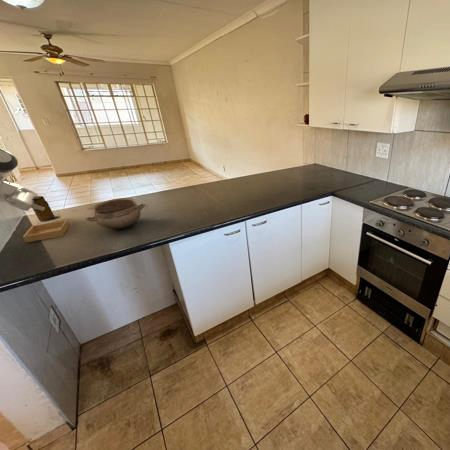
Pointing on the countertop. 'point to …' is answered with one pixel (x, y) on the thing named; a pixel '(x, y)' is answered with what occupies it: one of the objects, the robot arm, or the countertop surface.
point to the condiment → (47, 212)
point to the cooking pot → (116, 213)
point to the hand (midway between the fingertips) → (45, 206)
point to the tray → (46, 231)
